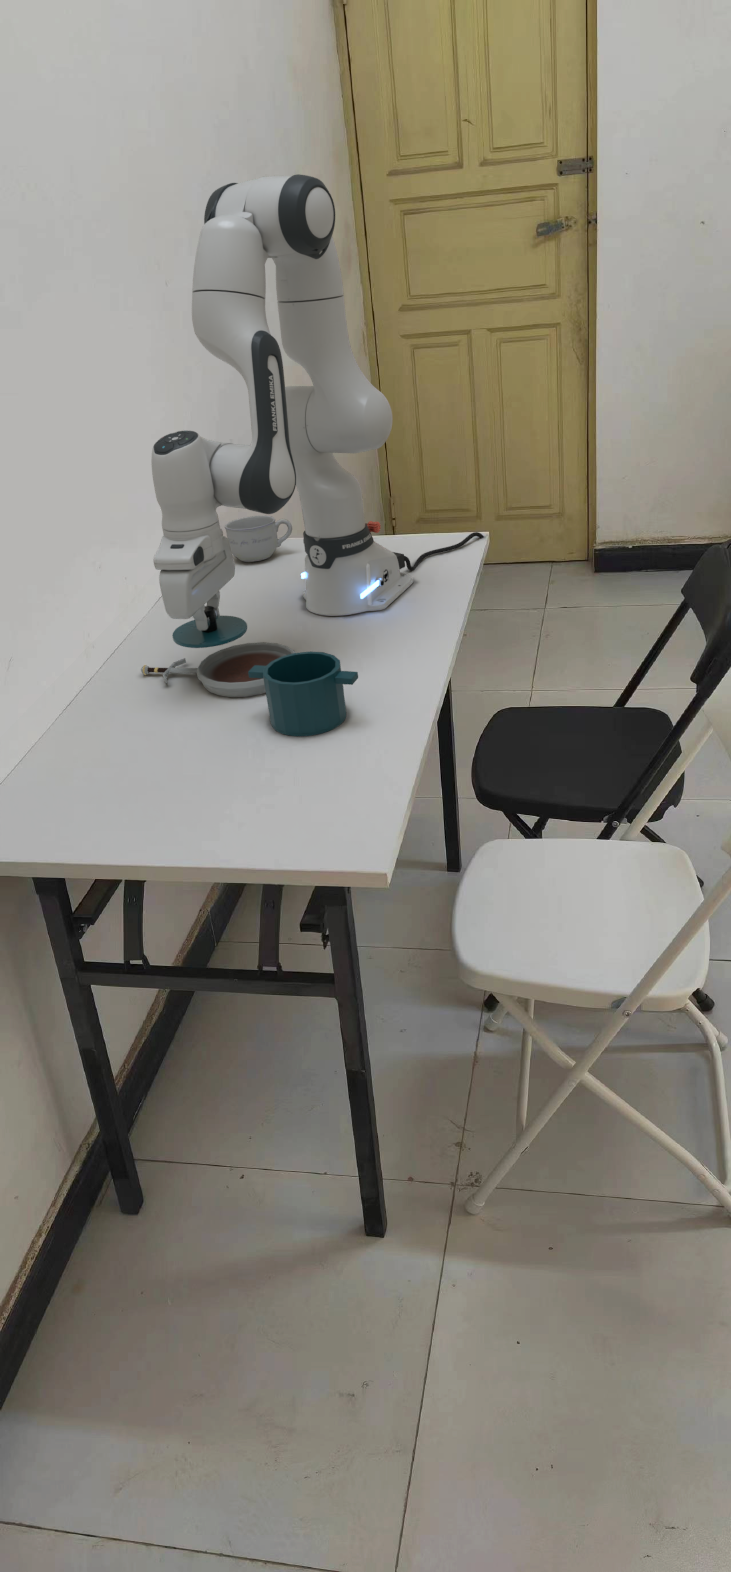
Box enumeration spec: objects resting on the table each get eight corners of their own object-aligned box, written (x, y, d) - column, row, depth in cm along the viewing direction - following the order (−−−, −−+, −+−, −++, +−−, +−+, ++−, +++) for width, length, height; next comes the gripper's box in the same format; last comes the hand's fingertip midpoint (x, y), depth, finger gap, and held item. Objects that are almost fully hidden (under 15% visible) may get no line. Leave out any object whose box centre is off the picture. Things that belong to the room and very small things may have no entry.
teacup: (224, 567, 234) (218, 530, 230) (238, 550, 243) (232, 514, 239) (288, 564, 231) (283, 527, 227) (299, 547, 240) (295, 510, 236)
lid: (195, 620, 189) (190, 593, 187) (260, 623, 185) (256, 596, 182) (159, 649, 179) (154, 621, 177) (226, 653, 175) (222, 625, 173)
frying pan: (159, 641, 195) (311, 639, 187) (163, 656, 197) (313, 655, 189) (117, 683, 181) (279, 683, 173) (121, 700, 183) (282, 700, 175)
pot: (274, 698, 176) (266, 648, 172) (373, 705, 170) (368, 654, 166) (242, 731, 167) (233, 680, 163) (346, 740, 161) (339, 687, 157)
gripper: (201, 520, 183) (215, 600, 190) (147, 563, 167) (165, 648, 174) (236, 520, 182) (249, 600, 188) (186, 563, 165) (202, 649, 172)
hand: (208, 624), depth 181 cm, fingers closed on lid, 2 cm apart
